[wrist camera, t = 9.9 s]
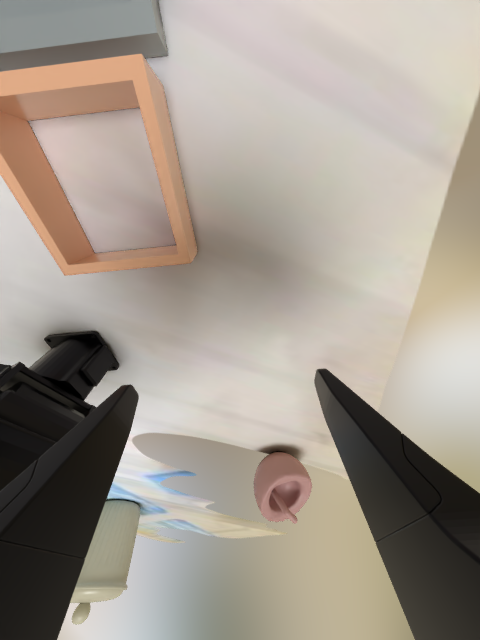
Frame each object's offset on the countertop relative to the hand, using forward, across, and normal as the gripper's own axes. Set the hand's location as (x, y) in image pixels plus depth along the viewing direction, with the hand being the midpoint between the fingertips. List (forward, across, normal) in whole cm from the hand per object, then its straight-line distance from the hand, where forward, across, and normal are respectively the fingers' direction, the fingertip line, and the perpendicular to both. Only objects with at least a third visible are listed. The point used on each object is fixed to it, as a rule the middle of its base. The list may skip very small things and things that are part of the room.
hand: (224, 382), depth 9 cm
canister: (+13, +45, +74) cm, 88 cm away
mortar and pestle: (+13, -6, +44) cm, 46 cm away
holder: (+13, +8, -8) cm, 17 cm away
